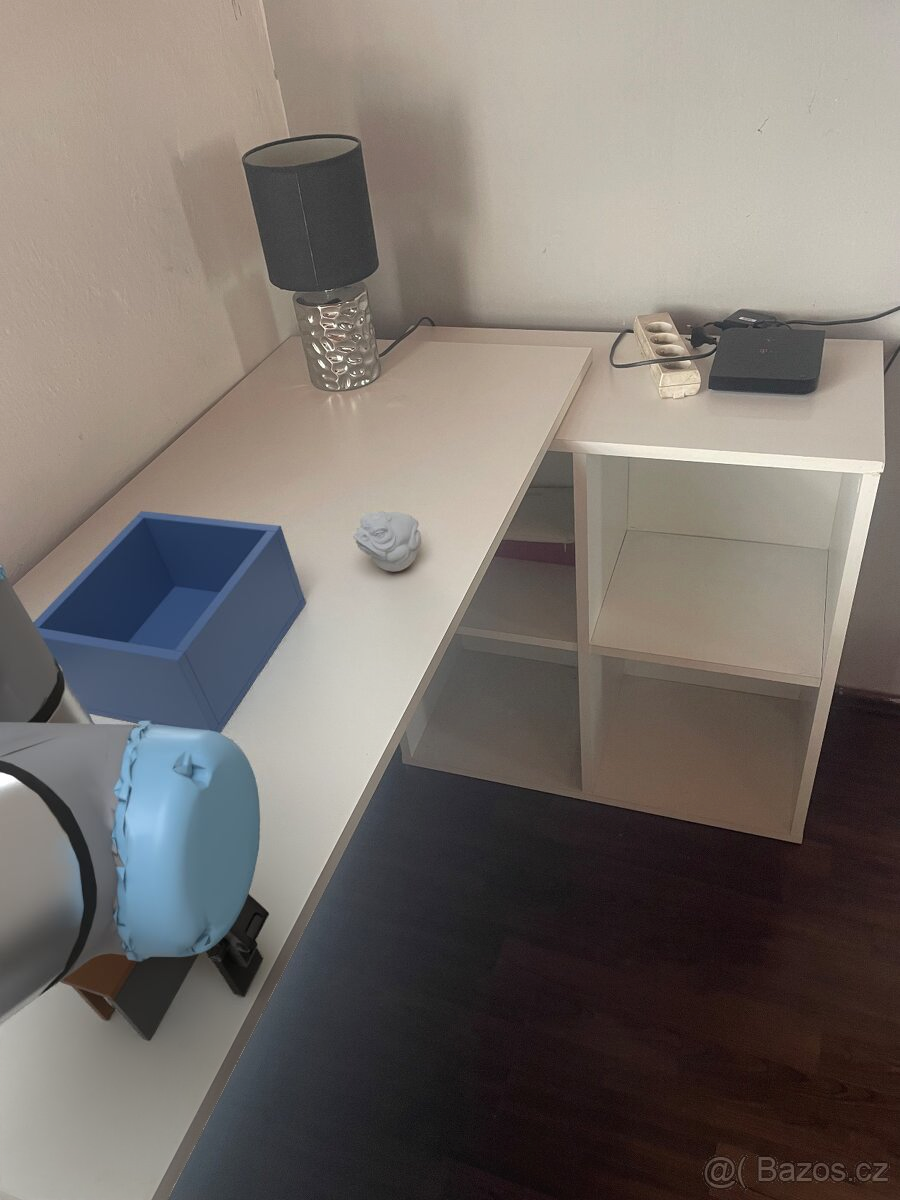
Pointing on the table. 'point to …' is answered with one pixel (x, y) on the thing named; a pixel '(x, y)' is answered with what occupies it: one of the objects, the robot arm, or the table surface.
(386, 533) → the frog figurine
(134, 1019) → the two-tone wooden bracket
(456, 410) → the table surface
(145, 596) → the bin
